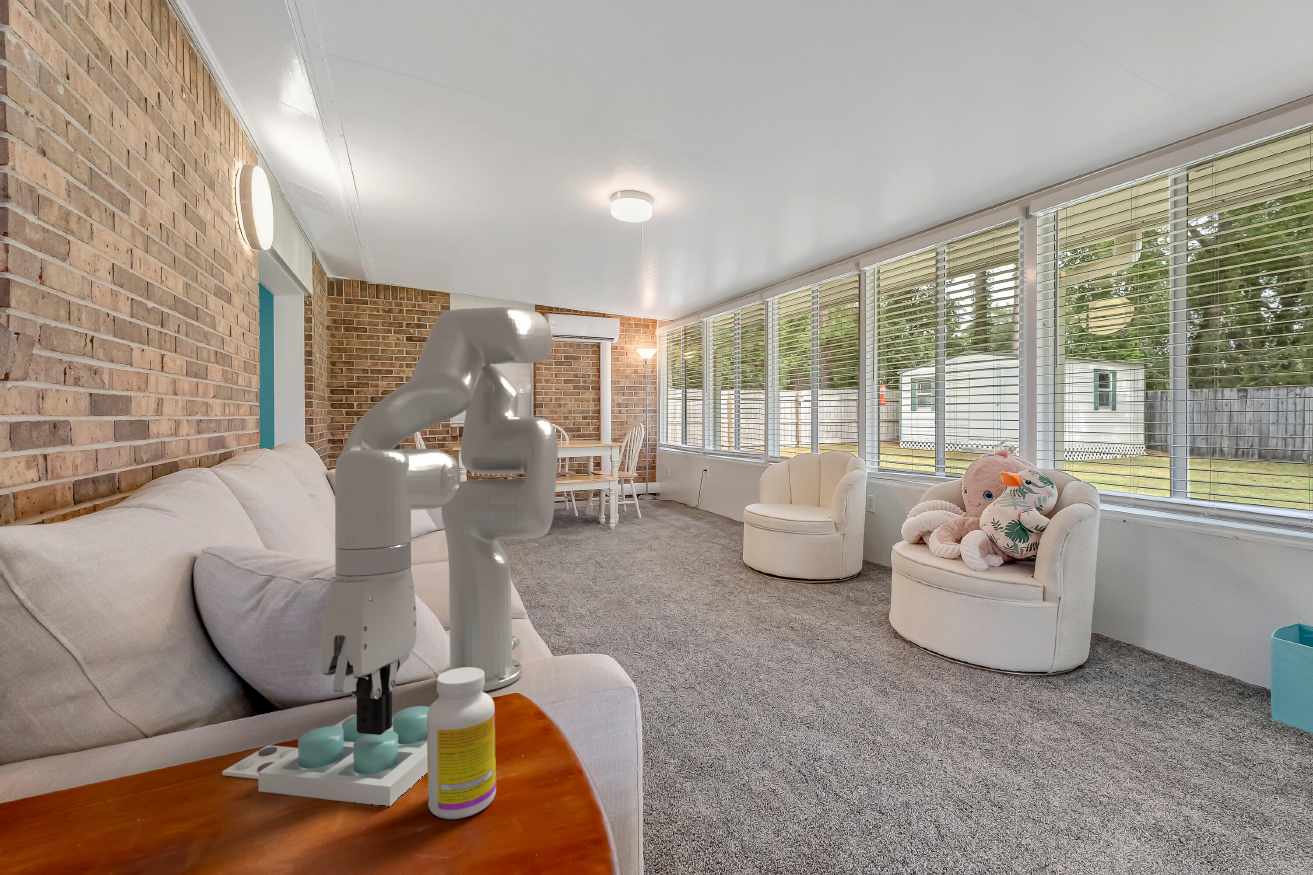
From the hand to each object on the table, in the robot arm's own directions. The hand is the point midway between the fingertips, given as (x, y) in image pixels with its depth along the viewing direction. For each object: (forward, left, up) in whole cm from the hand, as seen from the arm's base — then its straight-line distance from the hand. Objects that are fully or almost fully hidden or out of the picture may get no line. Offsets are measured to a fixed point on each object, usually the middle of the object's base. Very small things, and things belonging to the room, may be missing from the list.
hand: (374, 730), depth 63 cm
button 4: (-7, 0, -4) cm, 8 cm away
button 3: (0, 0, -4) cm, 4 cm away
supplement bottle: (+1, +11, -6) cm, 13 cm away
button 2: (-7, -7, -5) cm, 11 cm away
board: (-4, -4, -6) cm, 8 cm away
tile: (-2, -16, -6) cm, 17 cm away
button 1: (0, -7, -4) cm, 8 cm away
